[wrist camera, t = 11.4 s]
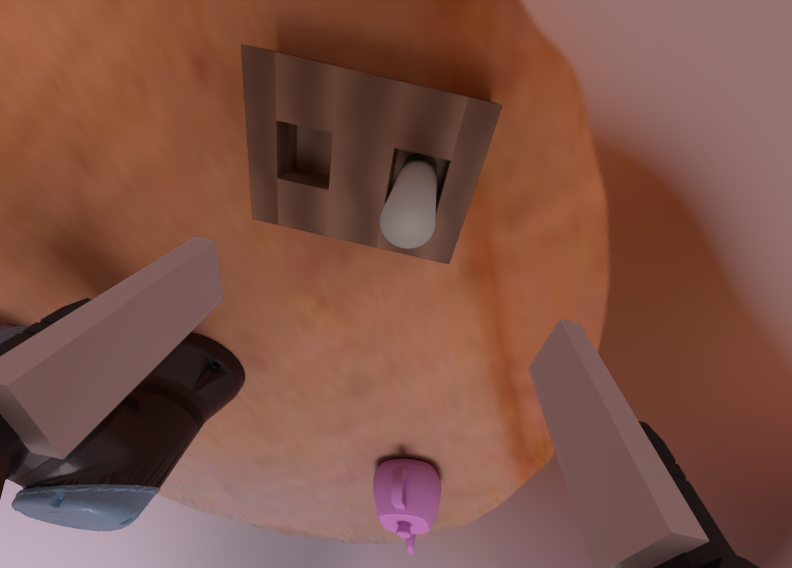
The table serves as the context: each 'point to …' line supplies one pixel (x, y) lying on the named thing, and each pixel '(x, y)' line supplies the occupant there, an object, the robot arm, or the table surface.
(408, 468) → the teapot
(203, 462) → the table surface
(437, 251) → the block
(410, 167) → the pin
